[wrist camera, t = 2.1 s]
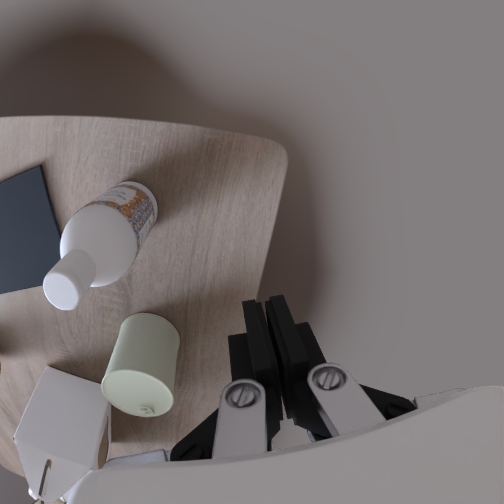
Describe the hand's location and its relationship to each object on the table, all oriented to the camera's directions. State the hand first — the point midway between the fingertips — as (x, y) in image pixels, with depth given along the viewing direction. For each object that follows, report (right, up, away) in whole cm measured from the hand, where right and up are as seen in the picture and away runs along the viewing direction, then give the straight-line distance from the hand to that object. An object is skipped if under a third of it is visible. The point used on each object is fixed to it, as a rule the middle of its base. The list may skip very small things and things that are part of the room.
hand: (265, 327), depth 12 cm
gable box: (-35, -28, +36) cm, 57 cm away
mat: (-37, +5, +21) cm, 43 cm away
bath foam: (-15, +8, +23) cm, 28 cm away
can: (-16, -10, +30) cm, 35 cm away
